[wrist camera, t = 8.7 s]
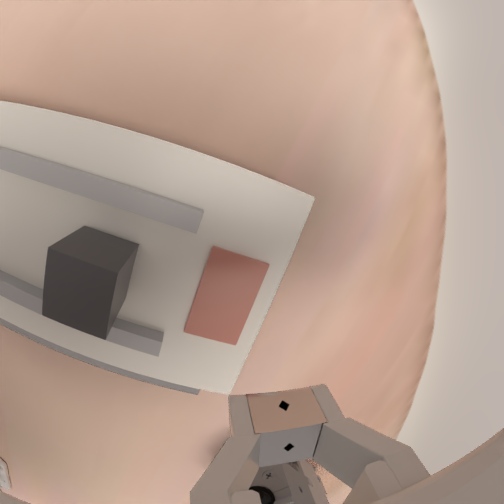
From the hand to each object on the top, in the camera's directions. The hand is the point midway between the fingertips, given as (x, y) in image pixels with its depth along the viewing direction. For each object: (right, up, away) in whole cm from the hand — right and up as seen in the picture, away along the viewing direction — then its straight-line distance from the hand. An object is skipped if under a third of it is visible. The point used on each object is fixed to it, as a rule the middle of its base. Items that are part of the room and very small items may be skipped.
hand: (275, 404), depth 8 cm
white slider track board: (-14, +7, +9) cm, 18 cm away
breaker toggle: (-8, +4, +5) cm, 10 cm away
